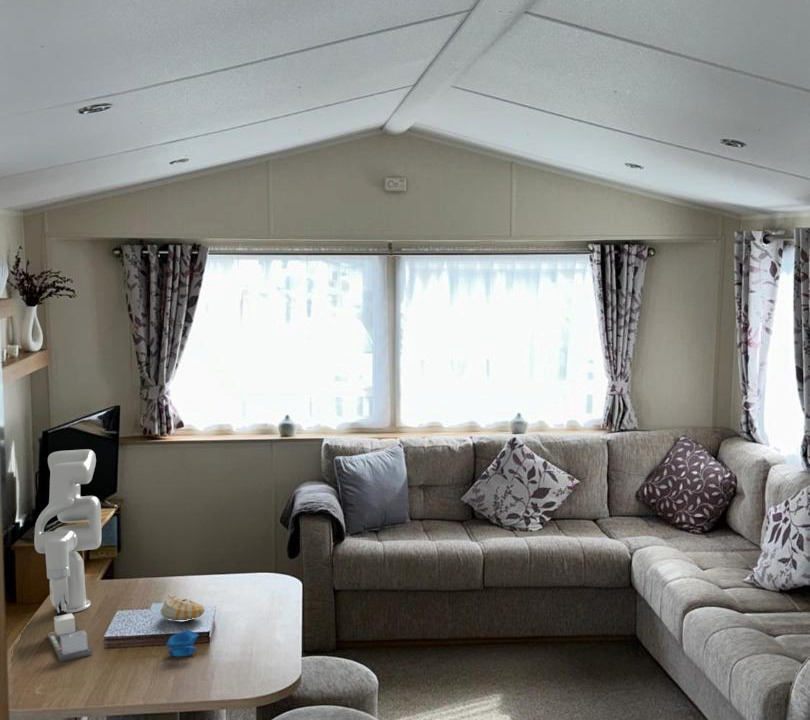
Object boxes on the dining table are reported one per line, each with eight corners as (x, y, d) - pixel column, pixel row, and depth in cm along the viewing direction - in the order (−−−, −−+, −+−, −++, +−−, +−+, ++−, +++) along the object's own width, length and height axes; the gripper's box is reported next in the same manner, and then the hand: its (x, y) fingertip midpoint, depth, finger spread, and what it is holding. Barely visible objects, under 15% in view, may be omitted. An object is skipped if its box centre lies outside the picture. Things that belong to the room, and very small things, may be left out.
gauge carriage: (48, 631, 331) (47, 618, 331) (72, 626, 335) (71, 613, 335) (51, 636, 327) (50, 622, 327) (75, 631, 331) (74, 617, 330)
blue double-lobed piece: (162, 632, 318) (197, 621, 319) (170, 655, 320) (205, 645, 321) (160, 641, 311) (196, 630, 312) (167, 665, 312) (203, 654, 313)
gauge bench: (48, 636, 334) (46, 616, 333) (77, 630, 339) (76, 610, 338) (60, 661, 313) (59, 640, 312) (91, 654, 318) (90, 633, 317)
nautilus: (153, 613, 354) (194, 607, 361) (165, 630, 335) (208, 624, 341) (153, 592, 354) (193, 587, 360) (165, 608, 335) (207, 602, 341)
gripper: (43, 568, 338) (47, 617, 340) (50, 580, 325) (54, 631, 327) (65, 564, 342) (69, 613, 344) (73, 576, 329) (77, 627, 331)
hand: (62, 622), depth 336 cm, fingers closed
